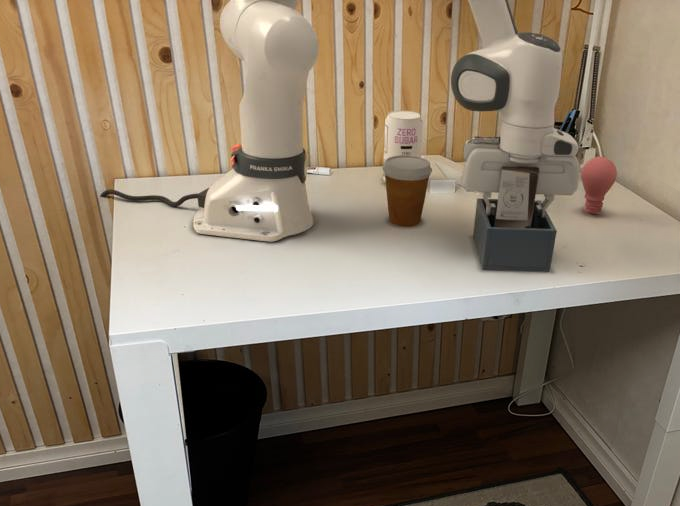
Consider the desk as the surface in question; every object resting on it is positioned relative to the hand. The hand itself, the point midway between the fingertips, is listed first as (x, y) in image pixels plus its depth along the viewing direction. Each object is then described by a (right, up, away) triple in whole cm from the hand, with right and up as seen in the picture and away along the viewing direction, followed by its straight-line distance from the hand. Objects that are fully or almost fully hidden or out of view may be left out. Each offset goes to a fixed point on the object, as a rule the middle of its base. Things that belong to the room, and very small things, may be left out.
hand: (514, 215), depth 132 cm
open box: (0, -6, +4) cm, 7 cm away
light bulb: (+19, +5, +24) cm, 31 cm away
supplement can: (-21, +14, +34) cm, 42 cm away
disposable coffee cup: (-20, +2, +15) cm, 25 cm away
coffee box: (0, -6, +4) cm, 7 cm away
